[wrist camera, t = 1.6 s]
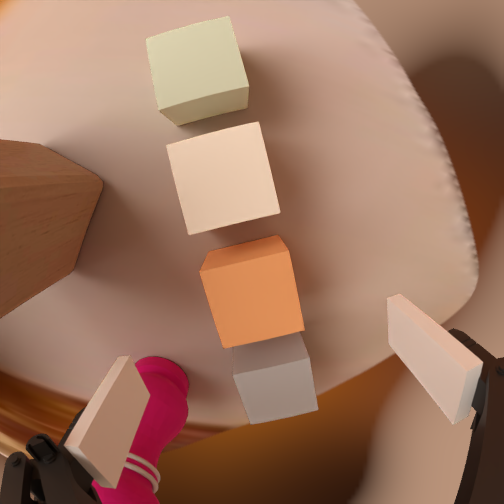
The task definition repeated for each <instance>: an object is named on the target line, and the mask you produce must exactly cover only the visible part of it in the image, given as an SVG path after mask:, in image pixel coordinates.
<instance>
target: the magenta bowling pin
mask: <svg viewBox="0 0 504 504" xmlns="http://www.w3.org/2000/svg"><path fill="white" fill-rule="evenodd" d="M135 366H136V368H137V370H138V372H139V374H140V376H141V378H142V380H143V382H144V384H145V386H146V388H147V390H148V392H149V394H150V398H149V400H148V403H147V405H146V408H145V410H144V413H143V416H142V418H141V421H140V423H139V426H138V429H137V431H136V434H135V437H134V439H133V442H132V445H131V448H130V450H129V453H128V456H127V459H126V461H125V464H124V467H123V470H122V473H121V475H120V478H119V481H118V484H117V487H116V489H114V488H107V487H101V486H100V485H99V484H98V483H97V482H96V481H95V480H94V479H93V482H92V485H93V487H94V488H95V489H96V491H97V493H98V495H99V498H100V500H101V502H102V504H159V501H158V500H157V498H156V496H155V495H154V493H155V492H156V491H157V490H158V483H159V481H160V474H159V472H158V471H157V462H158V459H159V456H160V453H161V451H162V450H163V448H164V447H165V446H166V445H167V444H168V443H169V442H170V441H171V440H172V439H174V438H175V437H176V436H177V435H178V434H179V432H180V431H181V430H182V428H183V427H184V425H185V422H186V419H187V416H188V405H187V401H186V397H187V393H188V388H189V382H188V379H187V377H186V374H185V373H184V372H183V370H182V369H181V368H180V367H179V366H177V365H176V364H175V363H173V362H171V361H169V360H167V359H164V358H160V357H146V358H143V359H141V360H139V361H138V362H137V363H135Z"/></svg>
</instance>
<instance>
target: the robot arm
mask: <svg viewBox="0 0 504 504" xmlns="http://www.w3.org/2000/svg"><path fill="white" fill-rule="evenodd" d="M387 311H388V344H389V345H390V346H391V348H392V349H393V350H394V351H395V352H396V354H397V355H398V356H399V357H400V358H401V360H402V361H403V362H404V363H405V365H406V366H407V367H408V368H409V369H410V371H411V372H412V373H413V374H414V376H415V377H416V378H417V379H418V381H419V382H420V383H421V385H422V386H423V387H424V388H425V390H426V391H427V392H428V393H429V395H430V396H431V397H432V398H433V400H434V401H435V402H436V404H437V405H438V406H439V408H440V409H441V410H442V411H443V413H444V414H445V415H446V417H447V418H448V419H449V421H450V422H451V423H452V424H453V425H454V424H456V423H458V422H459V421H461V420H463V419H464V418H466V417H468V415H469V412H470V409H471V406H472V407H473V408H474V409H475V410H476V411H477V412H476V414H475V417H474V420H473V423H472V425H471V428H470V429H473V431H472V436H471V441H470V446H469V451H468V456H467V460H466V464H465V468H464V472H463V476H462V480H461V483H460V487H459V490H458V493H457V496H456V499H455V502H454V504H504V357H503V358H498V359H496V358H495V357H494V356H493V355H491V354H490V353H489V352H488V351H486V350H485V349H484V348H483V347H482V346H480V345H479V344H476V342H475V341H474V340H473V339H471V338H470V337H469V336H468V335H467V334H465V333H464V332H462V331H459V330H456V329H454V328H453V329H451V330H449V331H446V330H445V329H443V328H442V327H441V326H440V325H439V324H437V323H436V322H435V321H434V320H433V319H431V318H430V317H429V316H428V315H426V314H425V313H424V312H423V311H421V310H420V309H419V308H418V307H416V306H415V305H414V304H413V303H411V302H410V301H409V300H407V299H406V298H405V297H404V296H402V295H401V294H397V295H394V296H391V297H388V298H387ZM149 398H150V394H149V392H148V390H147V388H146V386H145V384H144V382H143V380H142V378H141V376H140V374H139V372H138V370H137V368H136V366H135V364H134V362H133V360H132V358H131V356H130V355H127V356H119V357H118V358H117V359H116V361H115V362H114V364H113V365H112V367H111V368H110V370H109V372H108V373H107V375H106V376H105V378H104V379H103V381H102V383H101V384H100V386H99V387H98V389H97V390H96V392H95V394H94V395H93V397H92V399H91V400H90V402H89V403H88V405H87V407H86V408H83V409H82V410H81V411H80V412H79V413H78V414H77V415H76V416H75V418H74V420H73V421H72V422H73V423H71V425H70V426H69V429H67V431H66V433H65V434H64V436H63V438H62V440H61V441H60V443H59V445H58V446H56V445H55V444H54V442H53V441H52V440H51V438H50V437H49V436H48V435H46V434H38V435H35V436H33V437H32V438H31V439H30V440H29V441H28V442H27V444H26V450H27V451H28V452H29V453H30V455H31V456H32V457H33V458H34V459H30V460H29V459H28V457H27V456H26V455H25V454H24V453H22V452H15V453H12V454H11V455H10V456H9V457H8V458H7V461H6V463H5V469H4V474H3V479H2V485H1V492H0V504H102V502H101V500H100V498H99V495H98V493H97V491H96V489H95V488H94V487H93V485H92V482H93V479H94V480H95V481H96V482H97V483H98V484H99V485H100V486H101V487H107V488H114V489H116V487H117V484H118V481H119V478H120V475H121V473H122V470H123V467H124V464H125V461H126V459H127V456H128V453H129V450H130V448H131V445H132V442H133V439H134V437H135V434H136V431H137V429H138V426H139V423H140V421H141V418H142V416H143V413H144V410H145V408H146V405H147V403H148V400H149ZM30 493H32V494H33V495H34V500H32V499H31V497H30Z"/></svg>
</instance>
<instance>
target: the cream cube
mask: <svg viewBox="0 0 504 504" xmlns="http://www.w3.org/2000/svg"><path fill="white" fill-rule="evenodd" d="M166 147H167V151H168V156H169V160H170V164H171V168H172V173H173V177H174V181H175V185H176V189H177V193H178V197H179V201H180V205H181V208H182V212H183V216H184V220H185V224H186V227H187V231H188V235H192V234H196V233H200V232H204V231H208V230H212V229H216V228H220V227H224V226H228V225H232V224H236V223H240V222H244V221H249V220H253V219H257V218H261V217H265V216H270V215H274V214H278V213H280V208H279V204H278V199H277V195H276V191H275V186H274V182H273V178H272V174H271V169H270V165H269V161H268V157H267V153H266V149H265V145H264V141H263V137H262V133H261V129H260V125H259V121H258V122H253V123H248V124H244V125H240V126H235V127H231V128H227V129H223V130H219V131H215V132H211V133H207V134H203V135H200V136H196V137H192V138H189V139H185V140H182V141H179V142H175V143H172V144H169V145H166Z"/></svg>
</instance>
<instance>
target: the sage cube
mask: <svg viewBox="0 0 504 504" xmlns="http://www.w3.org/2000/svg"><path fill="white" fill-rule="evenodd" d="M145 40H146V46H147V52H148V58H149V64H150V70H151V75H152V80H153V86H154V91H155V96H156V101H157V106H158V110H159V111H160V112H161V113H162V114H163V115H165V116H166V117H167V118H168V119H169V120H171V121H172V122H173V123H174V124H175V125H176V126H180V125H183V124H187V123H190V122H194V121H197V120H201V119H205V118H208V117H212V116H216V115H220V114H224V113H228V112H233V111H237V110H242V109H246V108H248V95H249V84H248V80H247V76H246V73H245V69H244V65H243V62H242V58H241V55H240V51H239V48H238V44H237V41H236V37H235V34H234V30H233V27H232V24H231V20H230V17H229V16H226V17H222V18H217V19H212V20H208V21H204V22H200V23H196V24H192V25H188V26H184V27H181V28H177V29H174V30H171V31H167V32H164V33H161V34H158V35H155V36H152V37H149V38H147V39H145Z"/></svg>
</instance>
